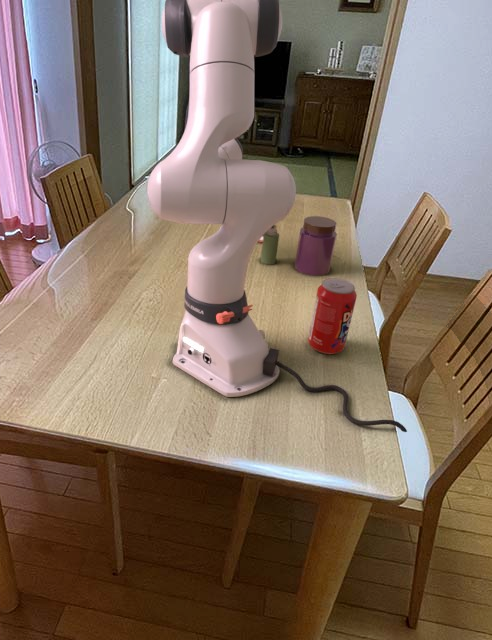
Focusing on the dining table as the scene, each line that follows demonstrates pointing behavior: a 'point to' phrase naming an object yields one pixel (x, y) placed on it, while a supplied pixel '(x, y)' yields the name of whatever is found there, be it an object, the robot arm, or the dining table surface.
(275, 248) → the green shaker
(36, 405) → the dining table surface
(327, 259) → the plum jar
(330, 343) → the soda can
